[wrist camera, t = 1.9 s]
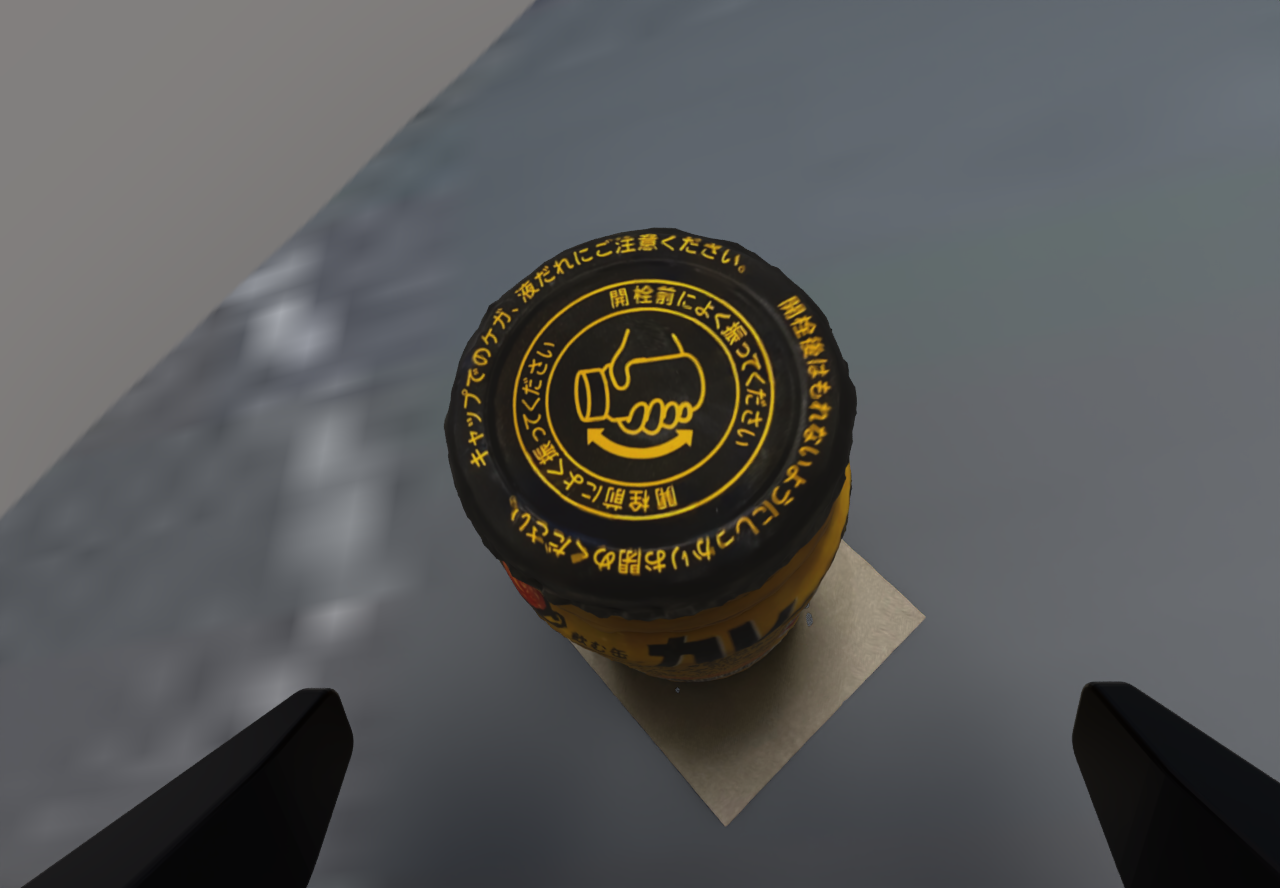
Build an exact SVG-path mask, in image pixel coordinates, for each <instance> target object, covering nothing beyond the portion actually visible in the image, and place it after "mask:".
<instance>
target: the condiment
mask: <svg viewBox="0 0 1280 888" xmlns="http://www.w3.org/2000/svg"><path fill="white" fill-rule="evenodd" d="M856 407H857V397H856V390H855V386H854V385H853V383H852V381H851V379H850V378H849V369H848V363H847V362H846V361H845V360H844V359H843V357H842V354H841V352H840V349H839V347H838V345H837V342H836V340H835V338H834V336H833V333H832V329H831V328H830V326H829V322H828V320H827V318H826V316H825V315H824V314H823V312H822V311H821V310H820V308H819V307H818V306H817V305H816V304H815V302H814V301H813V300H812V299H811V298H810V297H809V296H808V295H807V294H806V293H805V292H804V291H803V290H802V289H801V288H800V287H799V286H797V285H796V284H795V283H794V282H792V281H791V280H790V279H789V278H788V277H787V276H786V275H785V274H784V273H783V272H782V271H781V270H780V269H779V268H777V267H774V266H771V265H770V264H768V263H767V262H766V261H764V260H763V259H762V258H761V257H759V256H758V255H757V254H756V253H753V252H751V251H749V250H747V249H745V248H744V247H742V246H741V245H739V244H738V243H734V242H730V241H725V240H719V239H712V238H707V237H703V236H698V235H694V234H691V233H687V232H684V231H681V230H678V229H676V228H649V229H643V230H635V231H628V232H621V233H617V234H613V235H609V236H605V237H602V238H598V239H594V240H591V241H588V242H585V243H583V244H580V245H577V246H575V247H572V248H570V249H567V250H565V251H563V252H561V253H560V254H558V255H556V256H555V257H553V258H552V259H550V260H548V261H546V262H544V263H543V264H542V265H540V266H539V267H538V268H537V269H536V270H535V271H533V272H532V273H531V274H530V275H528V276H527V277H526V278H524V279H523V280H522V281H520V282H519V283H518V284H516V285H515V286H514V287H513V288H512V289H510V290H509V291H508V292H506V293H505V294H503V295H502V296H501V298H500V299H499V300H497V301H495V302H494V303H492V304H491V305H489V307H488V310H487V312H486V314H485V315H484V317H483V318H482V321H481V323H480V326H479V328H478V329H477V330H476V332H475V333H474V334H473V336H472V337H471V338H470V340H469V341H468V343H467V345H466V347H465V349H464V351H463V354H462V356H461V359H460V361H459V365H458V369H457V373H456V377H455V381H454V384H453V387H452V391H451V401H450V406H449V410H448V413H447V415H446V418H445V422H444V430H445V436H446V442H447V447H448V452H449V453H448V458H449V464H450V468H451V472H452V476H453V480H454V485H455V488H456V490H457V492H458V496H459V498H460V500H461V503H462V506H463V508H464V511H465V513H466V515H467V517H468V518H469V519H470V520H471V522H472V524H473V526H474V528H475V530H476V531H477V533H478V534H479V536H480V537H481V539H482V542H483V544H484V546H486V547H487V548H488V549H489V550H490V552H491V553H492V554H493V555H494V556H495V557H496V559H499V560H500V562H501V564H502V565H503V567H504V568H505V570H506V571H507V573H508V575H509V577H510V579H511V580H512V582H513V584H514V585H515V587H516V588H517V590H518V591H519V593H520V594H521V596H522V597H523V598H524V599H525V600H526V601H527V602H528V603H529V604H530V605H531V606H532V608H533V609H534V610H535V611H536V613H537V614H538V616H539V617H540V618H541V619H543V620H544V621H546V622H547V623H548V625H549V626H550V627H551V628H553V629H554V630H555V631H557V632H559V633H561V634H562V635H563V636H564V637H566V638H567V639H568V640H569V641H570V642H571V643H572V644H573V645H574V647H575V648H576V649H577V650H578V651H579V653H580V654H581V655H582V656H583V657H584V659H585V660H586V661H587V662H588V663H589V665H590V666H591V667H592V668H593V669H594V670H595V672H596V673H597V674H598V675H599V676H600V677H601V679H602V680H603V681H604V682H605V684H606V685H607V686H608V687H609V689H610V690H611V691H612V692H613V694H614V695H615V696H616V697H617V698H618V699H619V700H620V702H621V703H622V704H623V705H624V707H625V708H626V709H627V710H628V712H629V713H630V714H631V715H632V716H633V718H634V719H635V720H636V721H637V722H638V723H639V724H640V725H641V727H642V728H643V729H644V730H645V731H646V733H647V734H648V735H649V736H650V737H651V739H652V740H653V741H654V743H655V744H656V745H657V746H658V747H659V748H660V749H661V750H662V751H663V753H664V754H665V755H666V756H667V758H668V759H669V760H670V761H671V763H672V764H673V765H674V766H675V767H676V768H677V769H678V770H679V772H680V773H681V774H682V775H683V777H684V778H685V779H686V780H687V781H688V783H689V784H690V785H691V786H692V787H693V789H694V790H695V791H696V793H697V794H698V795H699V796H700V797H701V799H702V800H703V801H704V802H705V803H706V804H707V805H708V807H709V808H710V809H711V810H712V811H713V813H714V814H715V815H716V816H717V817H718V818H719V820H720V821H721V822H722V823H723V824H724V826H725V827H726V826H727V825H728V824H729V823H730V822H731V821H732V820H733V819H734V818H735V817H736V816H737V815H738V814H739V813H740V812H741V811H742V810H743V808H744V807H745V806H746V805H747V804H748V802H749V801H750V800H751V799H753V797H754V796H755V795H756V794H757V793H758V792H759V791H760V790H761V789H762V788H763V787H764V786H765V785H766V784H767V783H768V782H769V781H770V780H771V778H772V777H773V776H774V775H775V774H776V773H777V772H778V771H779V770H780V769H781V768H782V767H783V766H784V765H785V764H786V763H787V762H788V761H789V759H790V758H791V757H792V756H793V755H794V754H795V753H796V752H797V751H798V750H799V749H800V748H801V747H802V746H803V745H804V744H805V743H806V742H807V741H808V739H809V738H810V737H811V736H812V735H813V734H814V733H815V732H816V731H817V730H818V729H819V728H820V727H821V726H822V725H823V724H824V723H825V722H826V721H827V720H828V719H829V718H830V717H831V716H832V715H833V713H834V712H835V711H836V710H837V709H838V708H839V707H840V706H841V705H842V702H843V701H844V700H846V699H848V698H849V697H850V696H851V695H852V694H853V693H854V691H855V690H856V689H857V688H858V687H859V686H860V685H861V684H862V683H863V682H864V681H865V680H866V679H867V678H868V677H869V676H870V675H871V674H872V673H873V672H874V671H875V670H876V669H877V668H878V667H879V665H880V664H881V663H882V662H883V661H884V660H885V659H886V658H887V657H888V656H889V655H890V654H891V653H892V652H893V650H894V649H896V648H897V647H898V646H899V645H900V644H901V643H902V642H903V641H904V640H905V639H906V638H907V637H908V635H909V634H910V633H911V632H912V631H913V630H914V629H915V628H916V627H917V626H918V625H919V624H920V623H921V622H922V621H923V620H924V619H925V618H926V617H925V616H924V615H923V614H922V613H921V612H920V611H919V610H918V609H917V608H916V607H915V606H913V605H912V604H911V603H910V602H909V601H908V600H907V599H906V598H905V597H904V596H903V595H902V594H901V593H900V592H899V591H898V590H897V589H896V588H894V587H893V586H892V585H891V584H890V583H889V582H887V581H886V580H885V579H884V578H883V577H882V576H881V575H880V574H879V573H878V572H877V571H876V570H875V569H874V568H873V567H872V566H871V565H870V564H869V563H868V562H867V561H866V560H864V559H863V558H862V557H861V556H860V555H858V554H857V553H856V552H855V551H854V550H853V549H851V548H850V547H849V546H848V545H847V544H846V543H845V542H844V541H843V540H842V538H843V536H844V532H845V531H846V525H847V522H848V511H849V504H850V495H851V490H852V485H851V482H852V480H851V470H850V462H849V455H850V450H851V446H852V442H853V440H852V439H853V438H852V430H853V426H854V420H855V416H856V414H857V412H856ZM808 603H809V607H808V608H806V607H807V605H808ZM807 613H810V614H811V615H812V618H813V624H812V625H811V626H810V627H809V626H807V622H806V615H807ZM677 687H678V688H679V689H680V691H679V693H677V692H676V691H675V689H676V688H677Z"/></svg>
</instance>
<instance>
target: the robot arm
mask: <svg viewBox="0 0 1280 888" xmlns="http://www.w3.org/2000/svg"><path fill="white" fill-rule="evenodd" d="M1072 744H1073V750H1074V754H1075V757H1076V760H1077V763H1078V765H1079V768H1080V771H1081V773H1082V776H1083V779H1084V781H1085V784H1086V787H1087V789H1088V792H1089V795H1090V797H1091V800H1092V803H1093V805H1094V808H1095V811H1096V813H1097V816H1098V819H1099V821H1100V824H1101V827H1102V829H1103V832H1104V835H1105V837H1106V840H1107V843H1108V845H1109V848H1110V851H1111V853H1112V856H1113V859H1114V861H1115V864H1116V867H1117V869H1118V872H1119V875H1120V877H1121V880H1122V882H1123V884H1124V887H1125V888H1280V783H1279V782H1278V781H1276V780H1275V779H1273V778H1272V777H1270V776H1269V775H1267V774H1266V773H1264V772H1263V771H1261V770H1260V769H1258V768H1257V767H1255V766H1254V765H1252V764H1250V763H1249V762H1247V761H1246V760H1244V759H1243V758H1241V757H1240V756H1238V755H1237V754H1235V753H1234V752H1232V751H1231V750H1229V749H1228V748H1226V747H1225V746H1223V745H1222V744H1220V743H1219V742H1217V741H1216V740H1214V739H1213V738H1211V737H1210V736H1208V735H1207V734H1205V733H1204V732H1202V731H1201V730H1199V729H1198V728H1196V727H1195V726H1193V725H1192V724H1190V723H1189V722H1187V721H1186V720H1184V719H1183V718H1181V717H1180V716H1178V715H1177V714H1175V713H1174V712H1172V711H1170V710H1169V709H1167V708H1166V707H1164V706H1163V705H1161V704H1160V703H1158V702H1157V701H1155V700H1154V699H1152V698H1151V697H1149V696H1148V695H1146V694H1145V693H1143V692H1142V691H1140V690H1139V689H1137V688H1136V687H1134V686H1132V685H1130V684H1128V683H1126V682H1090V683H1087V684H1086V685H1085V686H1084V687H1083V690H1082V692H1081V697H1080V701H1079V705H1078V710H1077V714H1076V719H1075V723H1074V728H1073V733H1072ZM352 751H353V734H352V730H351V727H350V725H349V722H348V719H347V716H346V713H345V711H344V708H343V705H342V702H341V700H340V697H339V695H338V693H337V692H336V691H335V690H334V689H330V688H306V689H302V690H299V691H298V692H296V693H295V694H293V695H292V696H290V697H289V698H288V699H286V700H285V701H283V702H282V703H280V704H279V705H278V706H276V707H275V708H273V709H272V710H271V711H269V712H268V713H266V714H265V715H264V716H262V717H261V718H259V719H258V720H257V721H255V722H254V723H252V724H251V725H250V726H248V727H247V728H245V729H244V730H242V731H241V732H240V733H238V734H237V735H235V736H234V737H233V738H231V739H230V740H228V741H227V742H226V743H224V744H223V745H221V746H220V747H219V748H217V749H216V750H214V751H213V752H211V753H210V754H209V755H207V756H206V757H204V758H203V759H202V760H200V761H199V762H197V763H196V764H195V765H193V766H192V767H190V768H189V769H188V770H186V771H185V772H183V773H182V774H180V775H179V776H178V777H176V778H175V779H173V780H172V781H171V782H169V783H168V784H166V785H165V786H164V787H162V788H161V789H159V790H158V791H157V792H155V793H154V794H152V795H151V796H149V797H148V798H147V799H145V800H144V801H142V802H141V803H140V804H138V805H137V806H135V807H134V808H133V809H131V810H130V811H128V812H127V813H126V814H124V815H123V816H121V817H120V818H118V819H117V820H116V821H114V822H113V823H111V824H110V825H109V826H107V827H106V828H104V829H103V830H102V831H100V832H99V833H97V834H96V835H94V836H93V837H92V838H90V839H89V840H87V841H86V842H85V843H83V844H82V845H80V846H79V847H78V848H76V849H75V850H73V851H72V852H71V853H69V854H68V855H66V856H65V857H63V858H62V859H61V860H59V861H58V862H56V863H55V864H54V865H52V866H51V867H49V868H48V869H47V870H45V871H44V872H42V873H41V874H39V875H38V876H37V877H35V878H34V879H32V880H31V881H30V882H28V883H27V884H25V885H24V886H23V887H21V888H307V885H308V883H309V880H310V878H311V875H312V873H313V870H314V867H315V864H316V861H317V859H318V856H319V853H320V850H321V847H322V844H323V841H324V838H325V835H326V832H327V828H328V825H329V822H330V819H331V816H332V813H333V810H334V807H335V804H336V801H337V798H338V795H339V792H340V789H341V786H342V783H343V780H344V777H345V773H346V770H347V767H348V764H349V761H350V758H351V755H352Z"/></svg>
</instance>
